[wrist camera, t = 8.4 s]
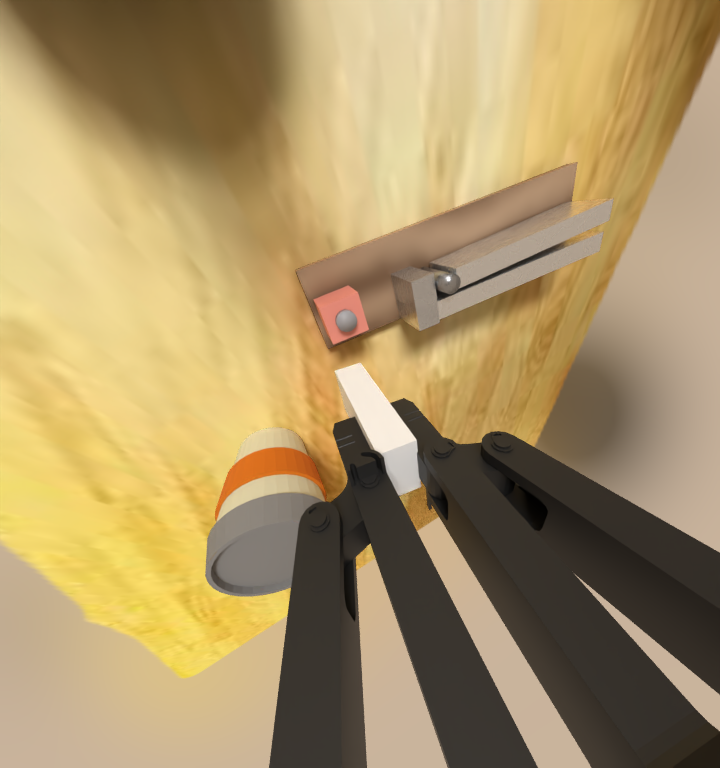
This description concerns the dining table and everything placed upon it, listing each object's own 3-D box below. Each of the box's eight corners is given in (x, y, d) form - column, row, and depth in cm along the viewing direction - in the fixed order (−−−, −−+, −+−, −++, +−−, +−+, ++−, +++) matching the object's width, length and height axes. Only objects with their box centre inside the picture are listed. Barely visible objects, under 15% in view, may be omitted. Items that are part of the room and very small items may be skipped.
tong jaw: (414, 269, 29) (442, 277, 24) (566, 201, 31) (621, 197, 26) (417, 286, 30) (445, 298, 26) (564, 221, 32) (616, 220, 27)
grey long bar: (390, 274, 29) (411, 282, 25) (564, 203, 31) (610, 200, 27) (399, 317, 32) (419, 331, 28) (558, 250, 34) (598, 254, 30)
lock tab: (313, 299, 28) (320, 310, 24) (348, 285, 28) (360, 294, 24) (326, 333, 30) (335, 347, 26) (359, 319, 30) (371, 332, 27)
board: (295, 269, 27) (296, 271, 26) (567, 164, 30) (577, 162, 29) (326, 345, 32) (328, 348, 31) (556, 248, 35) (564, 249, 34)
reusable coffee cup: (300, 403, 35) (320, 499, 23) (326, 464, 42) (351, 562, 30) (204, 437, 33) (170, 560, 21) (247, 494, 40) (240, 611, 28)
